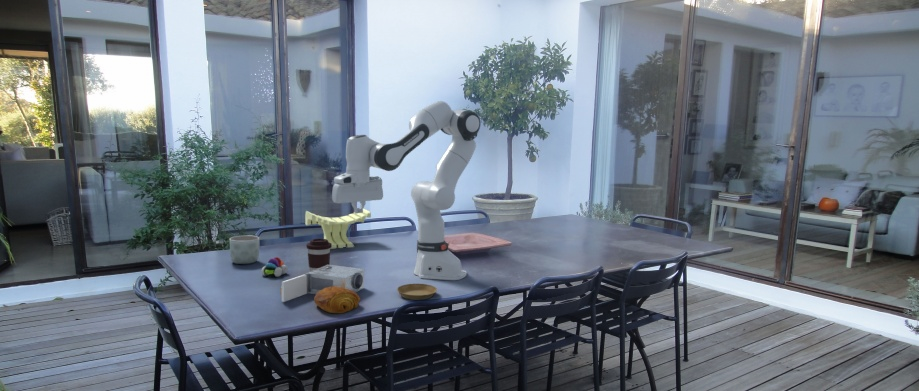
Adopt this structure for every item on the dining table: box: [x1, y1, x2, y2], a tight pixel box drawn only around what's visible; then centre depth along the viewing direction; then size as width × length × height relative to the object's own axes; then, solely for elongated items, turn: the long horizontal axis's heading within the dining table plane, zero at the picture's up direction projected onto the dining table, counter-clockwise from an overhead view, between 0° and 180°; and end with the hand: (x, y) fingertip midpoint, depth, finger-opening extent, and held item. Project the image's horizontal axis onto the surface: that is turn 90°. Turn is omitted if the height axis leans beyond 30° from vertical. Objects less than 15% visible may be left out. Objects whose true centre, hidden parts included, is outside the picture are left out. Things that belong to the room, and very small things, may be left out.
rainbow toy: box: [260, 256, 289, 278], centre depth 226 cm, size 8×10×7 cm
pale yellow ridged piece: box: [304, 208, 372, 250], centre depth 286 cm, size 30×16×18 cm, turn 117°
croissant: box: [313, 286, 361, 314], centre depth 188 cm, size 14×16×8 cm
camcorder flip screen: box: [280, 272, 310, 303], centre depth 196 cm, size 13×2×7 cm, turn 154°
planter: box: [229, 235, 260, 265], centre depth 245 cm, size 12×12×11 cm
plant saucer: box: [396, 283, 438, 301], centre depth 204 cm, size 15×15×3 cm
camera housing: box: [307, 264, 365, 295], centre depth 206 cm, size 17×14×8 cm
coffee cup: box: [305, 238, 332, 272], centre depth 225 cm, size 10×10×15 cm
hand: (358, 213), depth 213 cm, fingers closed
